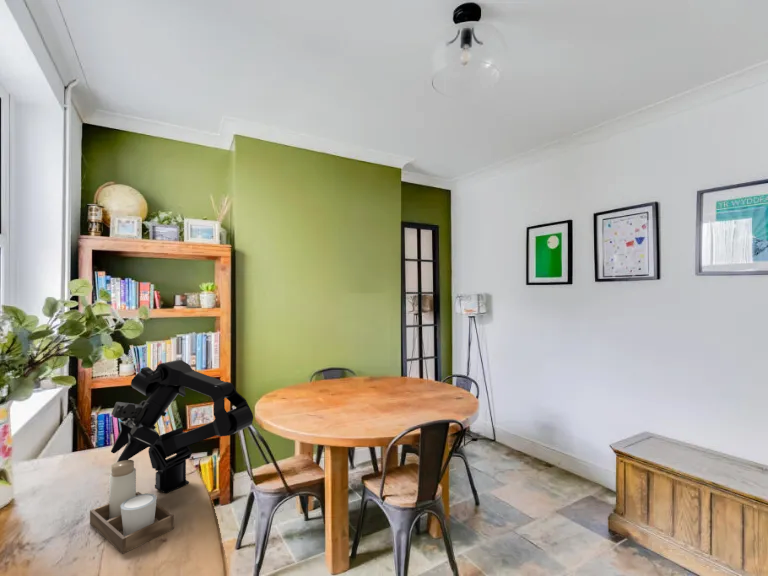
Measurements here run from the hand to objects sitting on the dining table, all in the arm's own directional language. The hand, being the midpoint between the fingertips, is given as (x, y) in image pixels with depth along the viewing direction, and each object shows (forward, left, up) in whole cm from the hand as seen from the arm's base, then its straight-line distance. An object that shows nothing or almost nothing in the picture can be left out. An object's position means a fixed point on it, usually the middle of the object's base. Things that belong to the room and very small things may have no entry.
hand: (115, 457), depth 99 cm
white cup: (+2, +20, -11) cm, 23 cm away
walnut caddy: (+2, +16, -11) cm, 20 cm away
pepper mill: (+2, +11, -11) cm, 16 cm away
